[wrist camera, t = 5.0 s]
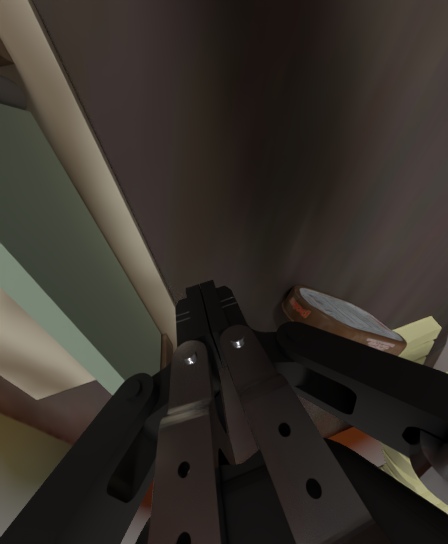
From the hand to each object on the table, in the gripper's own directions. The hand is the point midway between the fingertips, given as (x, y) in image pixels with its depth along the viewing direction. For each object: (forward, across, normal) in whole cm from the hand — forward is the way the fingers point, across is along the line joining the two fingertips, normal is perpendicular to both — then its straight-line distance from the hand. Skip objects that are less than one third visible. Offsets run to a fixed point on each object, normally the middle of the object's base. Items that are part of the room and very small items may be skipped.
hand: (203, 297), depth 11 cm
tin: (+9, -14, +13) cm, 21 cm away
